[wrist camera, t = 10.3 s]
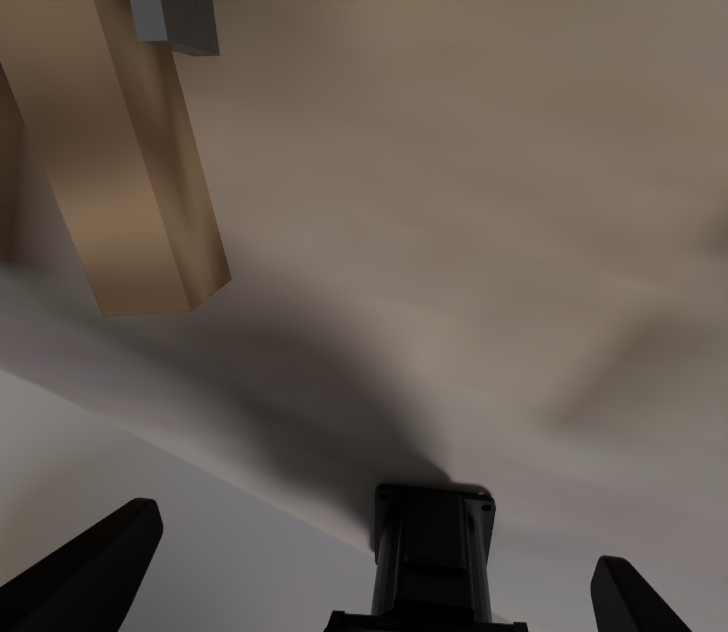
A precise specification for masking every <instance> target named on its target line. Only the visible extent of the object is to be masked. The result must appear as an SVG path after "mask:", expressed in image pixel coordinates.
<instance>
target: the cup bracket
mask: <svg viewBox="0 0 728 632" xmlns="http://www.w3.org/2000/svg"><path fill="white" fill-rule="evenodd" d="M130 3H131V8H132V13H133V18H134V24H135V29H136V34H137V39H138V42H141V43H145V44H149V45H153V46H157V47H161V48H164V49H168V50H172V51H176V52H180V53H184V54H188V55H192V56H218V55H219V47H218V40H217V32H216V24H215V17H214V9H213V2H212V0H130Z"/></svg>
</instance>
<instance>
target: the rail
mask: <svg viewBox="0 0 728 632" xmlns="http://www.w3.org/2000/svg"><path fill="white" fill-rule="evenodd" d="M0 62H1V65H2V67H3V70H4V72H5V75H6V77H7V80H8V82H9V84H10V87H11V89H12V92H13V94H14V97H15V99H16V102H17V104H18V107H19V109H20V112H21V114H22V117H23V119H24V122H25V124H26V127H27V129H28V132H29V134H30V136H31V139H32V141H33V144H34V146H35V149H36V151H37V154H38V156H39V159H40V161H41V164H42V166H43V169H44V171H45V174H46V176H47V179H48V181H49V184H50V186H51V188H52V191H53V193H54V196H55V198H56V201H57V203H58V206H59V208H60V211H61V213H62V216H63V218H64V221H65V223H66V226H67V228H68V231H69V233H70V236H71V238H72V240H73V243H74V245H75V248H76V250H77V253H78V255H79V258H80V260H81V263H82V265H83V268H84V270H85V273H86V275H87V278H88V280H89V283H90V285H91V288H92V290H93V292H94V295H95V297H96V300H97V302H98V305H99V307H100V310H101V312H102V315H103V316H119V315H136V314H153V313H170V312H187V311H192V310H193V309H194V308H196V307H197V306H198V305H199V304H201V303H202V302H203V301H205V300H206V299H207V298H208V297H210V296H211V295H212V294H213V293H215V292H216V291H217V290H219V289H220V288H221V287H222V286H224V285H225V284H226V283H228V282H229V281H230V280H231V276H230V272H229V268H228V264H227V260H226V257H225V253H224V249H223V245H222V241H221V237H220V234H219V230H218V226H217V222H216V218H215V215H214V211H213V207H212V203H211V199H210V196H209V192H208V188H207V184H206V180H205V177H204V173H203V169H202V165H201V161H200V158H199V154H198V150H197V146H196V142H195V139H194V135H193V131H192V127H191V123H190V120H189V116H188V112H187V108H186V104H185V101H184V97H183V93H182V89H181V85H180V82H179V78H178V74H177V70H176V66H175V62H174V59H173V55H172V51H171V50H168V49H164V48H161V47H157V46H153V45H149V44H145V43H141V42H138V39H137V34H136V29H135V24H134V18H133V13H132V8H131V3H130V0H0Z"/></svg>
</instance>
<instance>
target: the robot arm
mask: <svg viewBox="0 0 728 632" xmlns="http://www.w3.org/2000/svg"><path fill="white" fill-rule="evenodd" d="M383 493H386V494H383ZM486 504H487V505H486ZM495 511H496V506H495V500H494V499H493V498H492V497H491V496H488V495H480V494H471V493H462V492H452V491H443V490H434V489H425V488H416V487H407V486H397V485H388V484H381V485H378V486H377V487H376V492H375V563H376V565H377V572H376V580H375V586H374V594H373V602H372V610H371V615H362V614H347V613H345V611H336V610H333V611H332V614H331V617H330V620H329V623H328V625H327V628H325V630H324V632H528V627H527V623H526V622H513V624H503V623H492V615H491V606H490V597H489V588H488V579H487V570H486V567H487V561H488V555H489V548H490V542H491V536H492V530H493V524H494V517H495ZM162 534H163V522H162V519H161V516H160V512H159V509H158V505H157V503H156V501H155V500H153V499H147V498H135V499H133V500H131V501H129V502H128V503H126V504H125V505H124V506H122V507H120V508H119V509H117V510H116V511H114V512H113V513H111V514H110V515H108V516H107V517H105V518H104V519H102V520H101V521H100V522H98V523H96V524H95V525H93V526H92V527H90V528H89V529H87V530H86V531H84V532H83V533H81V534H80V535H78V536H77V537H75V538H74V539H72V540H71V541H69V542H68V543H66V544H65V545H63V546H62V547H60V548H59V549H57V550H56V551H54V552H52V553H51V554H49V555H48V556H46V557H45V558H43V559H42V560H41V561H39V562H37V563H36V564H34V565H33V566H31V567H30V568H28V569H27V570H25V571H24V572H22V573H21V574H19V575H18V576H16V577H15V578H13V579H12V580H10V581H9V582H7V583H6V584H4V585H3V586H1V587H0V632H118V630H119V628H120V626H121V624H122V623H123V621H124V619H125V617H126V615H127V613H128V611H129V609H130V607H131V605H132V603H133V601H134V598H135V596H136V594H137V592H138V589H139V587H140V585H141V583H142V580H143V578H144V576H145V574H146V571H147V569H148V567H149V564H150V562H151V560H152V558H153V555H154V553H155V551H156V549H157V546H158V544H159V542H160V540H161V537H162ZM591 598H592V603H593V608H594V613H595V618H596V623H597V628H598V632H692V631H691V630H690V629H689V628H688V626H687V625H686V624H685V623H684V622H683V621H682V620H681V619H680V618H679V616H678V615H677V614H676V613H675V612H674V611H673V610H672V609H671V608H670V607H669V605H668V604H667V603H666V602H665V601H664V600H663V599H662V598H661V597H660V596H659V594H658V593H657V592H656V591H655V590H654V589H653V588H652V587H651V586H650V585H649V583H648V582H647V581H646V580H645V579H644V578H643V577H642V576H641V575H640V573H639V572H638V571H637V570H636V569H635V568H634V567H633V566H632V565H631V564H630V563H629V562H628V561H627V560H626V559H624V558H621V557H615V556H606V555H602V556H601V557H600V558H599V560H598V562H597V566H596V569H595V572H594V575H593V578H592V581H591Z"/></svg>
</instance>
